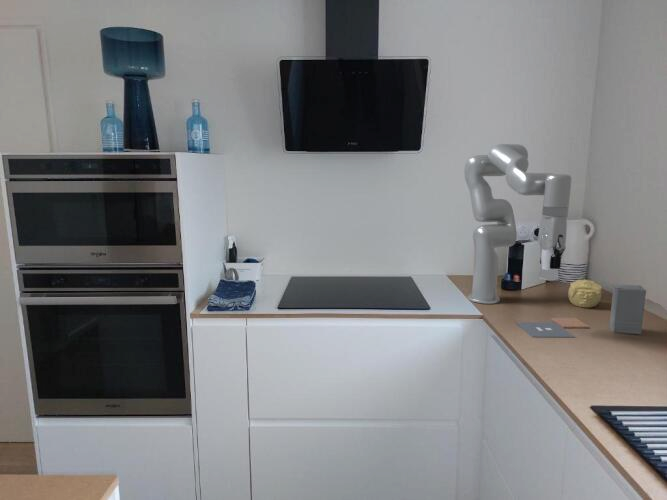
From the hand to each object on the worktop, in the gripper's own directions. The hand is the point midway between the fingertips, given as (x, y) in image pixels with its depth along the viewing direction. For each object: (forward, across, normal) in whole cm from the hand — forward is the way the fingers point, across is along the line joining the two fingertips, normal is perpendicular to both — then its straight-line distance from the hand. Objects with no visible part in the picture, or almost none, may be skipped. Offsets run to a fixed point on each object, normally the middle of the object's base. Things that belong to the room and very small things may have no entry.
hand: (549, 265), depth 150 cm
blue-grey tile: (+22, 0, 0) cm, 22 cm away
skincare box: (+23, +1, +27) cm, 35 cm away
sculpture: (+23, -28, +29) cm, 46 cm away
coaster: (+22, -6, +12) cm, 26 cm away
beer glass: (+5, 0, 0) cm, 5 cm away
